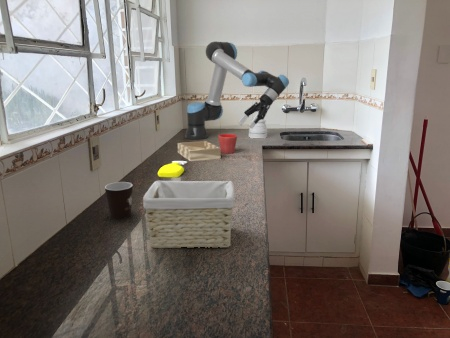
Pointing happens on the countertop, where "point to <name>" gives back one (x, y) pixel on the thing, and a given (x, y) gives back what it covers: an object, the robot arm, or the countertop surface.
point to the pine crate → (199, 151)
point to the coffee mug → (119, 199)
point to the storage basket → (189, 213)
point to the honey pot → (258, 129)
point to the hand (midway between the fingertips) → (244, 125)
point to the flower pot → (227, 143)
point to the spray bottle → (172, 169)
